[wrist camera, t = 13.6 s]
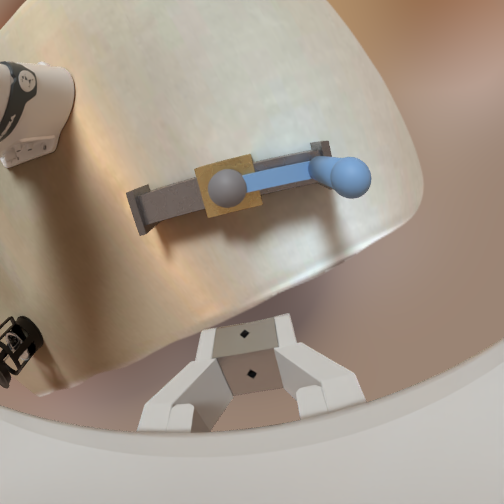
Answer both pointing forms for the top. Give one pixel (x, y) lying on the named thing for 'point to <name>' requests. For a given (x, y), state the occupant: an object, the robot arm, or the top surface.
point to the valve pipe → (196, 189)
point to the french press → (18, 346)
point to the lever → (292, 179)
